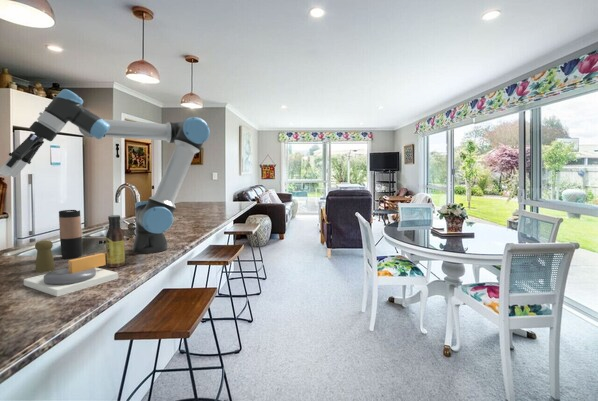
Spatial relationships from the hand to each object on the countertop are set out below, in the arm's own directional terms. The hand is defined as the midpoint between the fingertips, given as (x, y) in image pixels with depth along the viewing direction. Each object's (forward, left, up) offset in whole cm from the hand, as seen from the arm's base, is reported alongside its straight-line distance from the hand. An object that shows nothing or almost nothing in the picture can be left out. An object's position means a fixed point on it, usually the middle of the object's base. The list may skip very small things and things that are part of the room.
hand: (6, 175), depth 113 cm
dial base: (-6, +26, -35) cm, 44 cm away
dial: (-7, +28, -33) cm, 44 cm away
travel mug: (-24, -8, -35) cm, 43 cm away
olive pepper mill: (-9, +3, -35) cm, 37 cm away
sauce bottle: (-25, +21, -35) cm, 48 cm away
